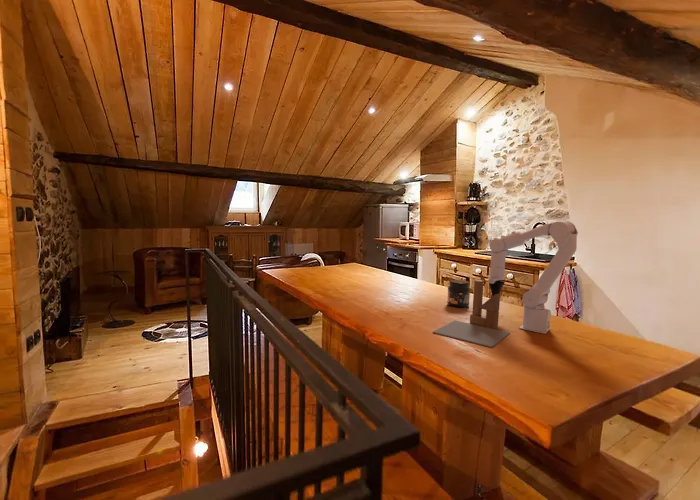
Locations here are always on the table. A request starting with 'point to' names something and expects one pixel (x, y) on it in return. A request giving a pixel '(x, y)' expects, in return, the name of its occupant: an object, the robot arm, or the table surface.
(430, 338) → the table surface
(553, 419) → the table surface
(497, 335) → the mat
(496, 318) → the wooden block
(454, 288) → the supplement container
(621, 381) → the table surface
